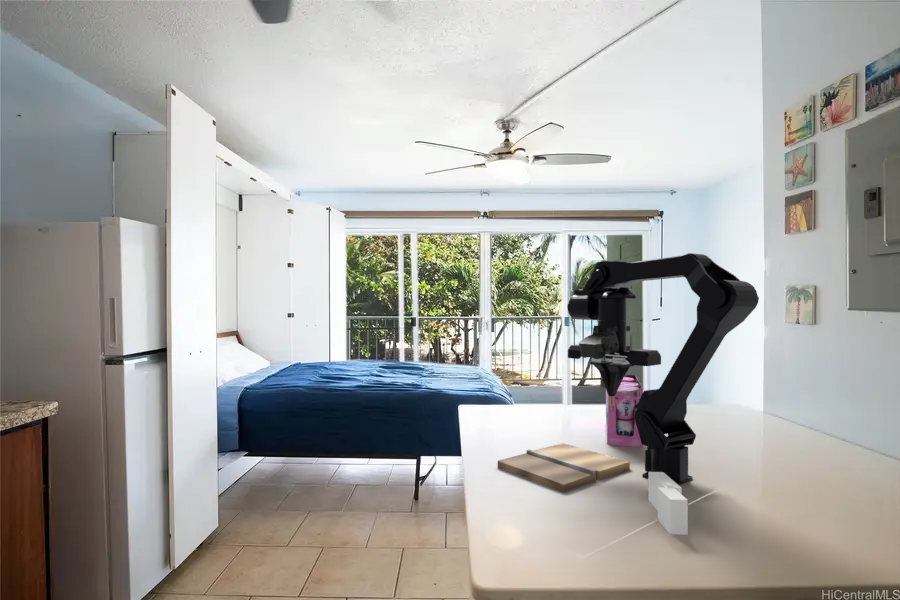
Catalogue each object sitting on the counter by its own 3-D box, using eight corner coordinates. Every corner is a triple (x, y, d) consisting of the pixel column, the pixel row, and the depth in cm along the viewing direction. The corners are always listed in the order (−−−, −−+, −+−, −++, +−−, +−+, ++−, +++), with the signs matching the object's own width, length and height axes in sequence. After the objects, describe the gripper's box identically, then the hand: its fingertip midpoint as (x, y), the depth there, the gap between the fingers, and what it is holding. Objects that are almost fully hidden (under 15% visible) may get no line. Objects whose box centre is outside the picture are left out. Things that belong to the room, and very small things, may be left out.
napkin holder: (642, 496, 83) (642, 462, 83) (717, 516, 76) (717, 478, 76) (606, 527, 72) (606, 487, 72) (690, 552, 64) (690, 509, 64)
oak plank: (629, 469, 95) (629, 461, 95) (599, 479, 89) (599, 471, 89) (563, 450, 108) (563, 443, 108) (532, 457, 101) (532, 450, 102)
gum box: (644, 450, 108) (644, 388, 109) (606, 447, 111) (607, 386, 111) (636, 425, 131) (636, 374, 132) (605, 423, 134) (605, 373, 134)
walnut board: (595, 481, 88) (595, 470, 88) (563, 493, 83) (563, 480, 83) (529, 459, 101) (529, 449, 101) (497, 468, 95) (497, 457, 95)
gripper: (551, 320, 104) (550, 393, 104) (631, 323, 90) (631, 408, 90) (583, 319, 111) (583, 388, 111) (662, 322, 97) (662, 401, 96)
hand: (611, 396), depth 102 cm, fingers closed
